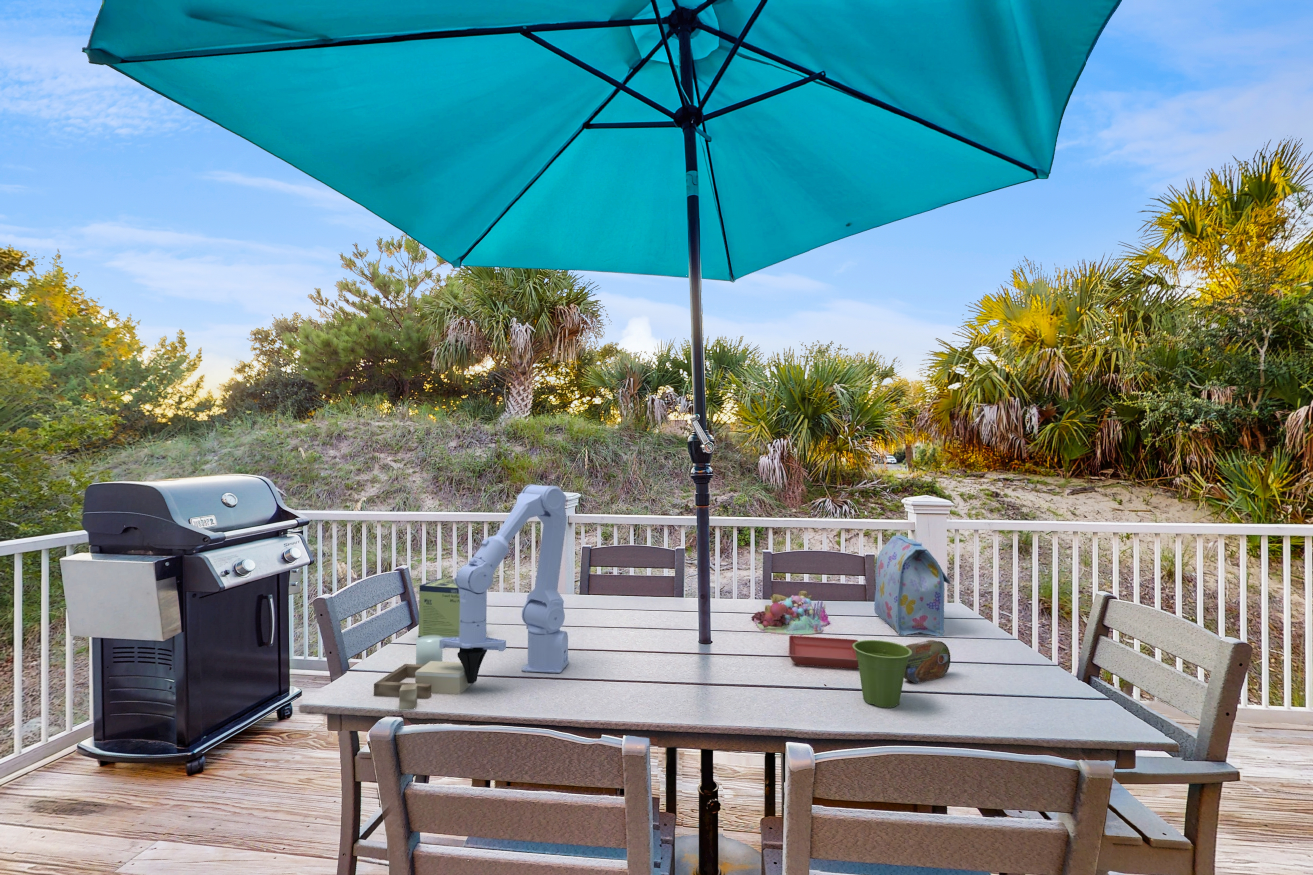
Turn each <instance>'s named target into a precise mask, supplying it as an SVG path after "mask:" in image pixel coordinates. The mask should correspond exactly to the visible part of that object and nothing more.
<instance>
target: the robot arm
mask: <svg viewBox="0 0 1313 875" xmlns="http://www.w3.org/2000/svg"><path fill="white" fill-rule="evenodd" d="M566 501H567V496H566V494H565V493H564V491H563V490H562V489H561V488H560V487H559V486H557V485H539V484H538V485H537V484H532V483H531V484H527V485H525V486H524V488H523V489H522V490H521V492H520V493H519V494H518V495H517V496H516V503H515V505H514V507H513V508H512V510H511V511H510V512H509V514H508V515H507V517H506V519H505V521H504V522H503V523H502V525H501V527H500V528H499V530H498V531H497V532H496V534H495V535H492V536H491V535H490V536H488V537H487V538H486V539H485V538H484V539H483V540H482V542H481V544H482V545H481V546H480V548H479V549H478V550H477V551H476V553H475V554H474V556H473V557H471V558H470V559H469V560H468V564H465V565H462V566H461V567H460V569H459V570H458V571H457V572H456V577H454V578H453V579H454V581H455V584H456V586H457V587H458V589H459V595H460V626H459V637H443V638H442V639H440V643H439V648H440V649H442V650H444V649H458V650H459V651H458V652H457V655H456V656H457V658H458V659H459V661H460V662H461V663H462V665H463V667H464V670H465V673H466V677H467V682H468V684H471V685H473V684H475V683H476V682H477V681H478V676H479V671H480V668H481V665H482V662H483V660H484V657H485V655H486V653H487V652H488V651H498V652H504V651H505V650H507V639H498V638H494V637H487V610H488V609H487V602H488V600H487V598H488V590H489V588H490V587H492V584H493V581H494V575H495V574H496V573H495V572H496V570H497V569H498V567H499V566H500V564H501V563H502V562H503V560H504V559H505V558H506V556H507V555H508V553H509V551H510V548H509V544H510V542H511V541H512V540H513V539H514V537H515V536H516V535H517V534H518V532H520V530H521V529H522V528H523V526H524V525H525V524H526V523H527V521H528V520H529V519H531V518H534V517H535V518H536V517H537V518H538V519H539V521H540V522H541V523H542V524H543V527H542V533H541V534H542V535H541V541H540V548H539V555H538V562H537V570H536V576H535V578H536V579H535V583H534V588H533V590H531V591H530V592H529V593H528V594H527V595H526V596H527V597H526V601H525V604H524V605H523V608H522V610H521V619H522V622H523V623H524V624H525V625H526V630H527V663H526V665H524V666H523V667H522V669H521V671H522V672H533V673H551V674H552V673H553V674H554V673H555V674H560V673H562V672H563V671H564V670H565V668H566V666H568V665H569V663H570V661H569V637H568V636H569V634H568V631H566V630H561V627H562V626H563V625H564V622H565V618H566V615H565V614H566V613H565V610H564V602H565V600H564V598H563V597H562V596H561V594H560V593H559V591H558V587H559V582H560V573H561V566H562V557H563V549H564V544H565V537H566V536H565V535H566V529H567V528H566V527H567V521H568V518H567V512H566V508H565V507H566V503H567V502H566Z"/></svg>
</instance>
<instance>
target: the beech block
mask: <svg viewBox="0 0 1313 875" xmlns="http://www.w3.org/2000/svg"><path fill="white" fill-rule="evenodd" d="M398 699H399V703H398V704H399V705H398V708H399V709H408V710H415V709H416V707H417V704H418V698H417V684H410V685H402V686H401V688H400V690H399V697H398ZM414 708H415V709H414ZM399 709H398V710H399Z"/></svg>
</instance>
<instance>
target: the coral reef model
mask: <svg viewBox="0 0 1313 875" xmlns="http://www.w3.org/2000/svg"><path fill="white" fill-rule="evenodd" d="M769 598H770V600H771V602H772V604H771V605H770V604H766V605H765V606H764V610H762V611H757V612H755V613H754V614H753V615H752V616H751V617H750V618H751V620H752V621H753V623H755V626H756V628H757V629H758V630H760V631H761V632H764V633H768V634H773V635H783V636H784V635H785V636H812V635H818V634H822V633H824V628H825V627H827V626H828V625H830V623H831V622H830V620H829V616H828V614H827V612H826V604H825V603H824V602H823V600H821V601H820V599H817V602H816V603H814V604H813V605H814V606H813V605H812V601H811V600H812V595H808V592H807V591H806V590H801V591H798V595H793V594H792V595H791V596H790V597H788V596H784V595H781V594H776V593H774V594H772V595H771V596H770V597H769Z"/></svg>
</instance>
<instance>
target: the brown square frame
mask: <svg viewBox="0 0 1313 875" xmlns="http://www.w3.org/2000/svg"><path fill="white" fill-rule="evenodd" d="M423 666H424V665H418V664H416V663H415V664H414V663H404V664H403V665H401V666H400V667H398V668H396V669H395V670H393V671H391V672H389V673H388V674H387V675H385V676H384V677H382V678H381V679H379V680H377V681H376V682H374V684H373V697H374V696H377V697H378V696H379V697H390V698H391V697H394V698H399V690H400V688H401V686H402V685H410V684H417V699H425V700H427V699H429V698H430V697H431V696H432V693H431V686H432V684H420V683H415V682H414V683H413V682H402V681H403V680H405V679H406V678H415V672H416V671H417V670H418V669H420V668H421V667H423Z"/></svg>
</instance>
